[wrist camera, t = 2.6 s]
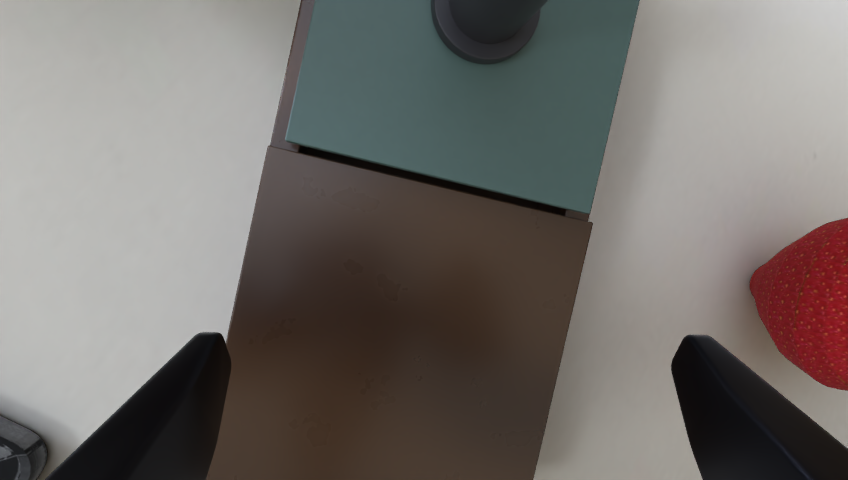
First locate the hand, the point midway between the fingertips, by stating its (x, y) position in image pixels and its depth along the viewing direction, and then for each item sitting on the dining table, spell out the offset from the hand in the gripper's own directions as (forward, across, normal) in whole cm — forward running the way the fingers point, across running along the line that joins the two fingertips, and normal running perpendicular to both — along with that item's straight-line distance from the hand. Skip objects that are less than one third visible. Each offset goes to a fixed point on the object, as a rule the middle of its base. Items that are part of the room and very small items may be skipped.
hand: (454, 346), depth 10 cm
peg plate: (+12, -1, -3) cm, 12 cm away
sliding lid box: (+12, 0, +4) cm, 13 cm away
